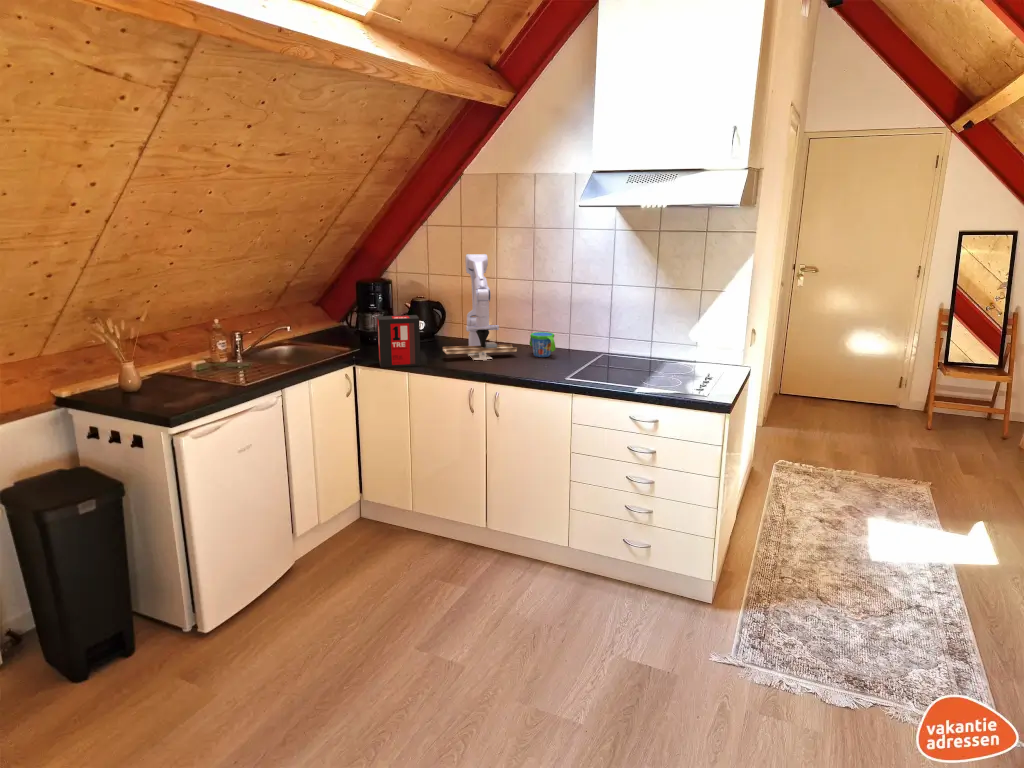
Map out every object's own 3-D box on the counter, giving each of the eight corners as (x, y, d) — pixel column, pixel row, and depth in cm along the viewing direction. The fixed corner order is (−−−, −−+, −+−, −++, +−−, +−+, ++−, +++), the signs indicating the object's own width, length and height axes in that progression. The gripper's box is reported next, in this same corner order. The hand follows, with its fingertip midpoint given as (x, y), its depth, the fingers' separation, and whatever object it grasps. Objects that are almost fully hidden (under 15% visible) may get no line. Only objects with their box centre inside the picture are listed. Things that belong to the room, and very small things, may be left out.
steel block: (482, 347, 297) (483, 342, 297) (493, 347, 299) (493, 341, 298) (486, 349, 293) (486, 344, 292) (496, 349, 294) (497, 344, 293)
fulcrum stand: (468, 355, 299) (468, 347, 298) (485, 354, 301) (485, 347, 301) (474, 361, 289) (474, 352, 288) (492, 359, 291) (492, 351, 290)
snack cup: (522, 354, 304) (523, 332, 301) (542, 351, 309) (542, 330, 307) (541, 360, 291) (542, 337, 289) (561, 358, 296) (562, 335, 294)
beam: (446, 354, 286) (446, 350, 286) (442, 351, 293) (442, 346, 292) (516, 351, 296) (516, 347, 296) (511, 348, 303) (511, 344, 302)
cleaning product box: (380, 367, 276) (378, 319, 271) (379, 362, 284) (377, 316, 279) (420, 365, 280) (419, 318, 275) (417, 360, 288) (416, 315, 283)
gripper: (468, 318, 285) (469, 349, 288) (501, 317, 289) (500, 347, 293) (464, 315, 291) (465, 346, 295) (496, 314, 296) (496, 344, 299)
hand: (482, 346), depth 294 cm, fingers closed
